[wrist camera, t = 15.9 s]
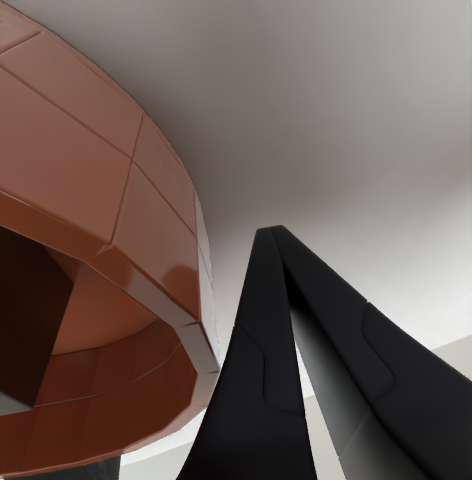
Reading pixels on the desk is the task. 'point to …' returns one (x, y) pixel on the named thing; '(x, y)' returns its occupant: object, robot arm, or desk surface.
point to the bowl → (102, 258)
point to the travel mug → (81, 472)
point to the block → (27, 317)
